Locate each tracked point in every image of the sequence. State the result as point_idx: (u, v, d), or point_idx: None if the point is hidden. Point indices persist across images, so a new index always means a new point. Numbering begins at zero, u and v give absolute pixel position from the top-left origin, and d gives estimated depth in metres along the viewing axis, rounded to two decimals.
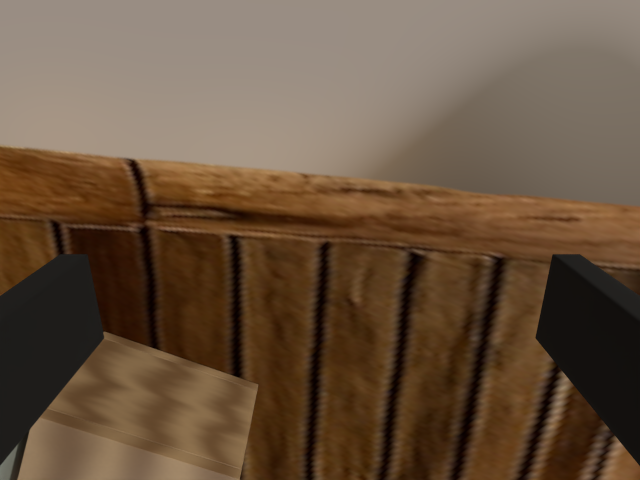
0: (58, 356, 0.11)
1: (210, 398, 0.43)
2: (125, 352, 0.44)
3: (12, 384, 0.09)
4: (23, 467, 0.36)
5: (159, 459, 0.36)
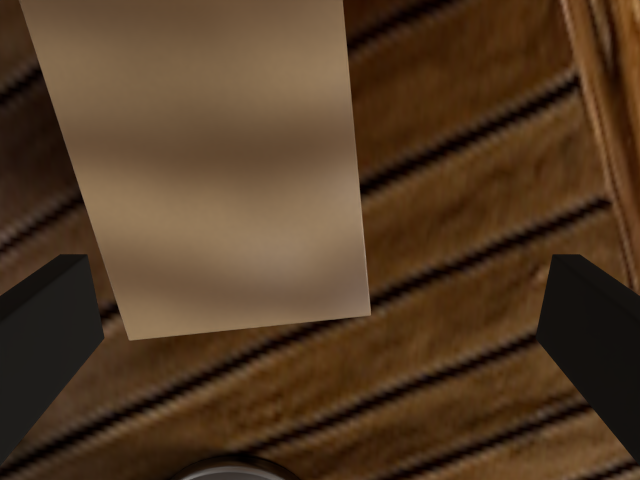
0: (58, 356, 0.11)
1: None
2: None
3: (11, 384, 0.09)
4: None
5: (346, 173, 0.18)
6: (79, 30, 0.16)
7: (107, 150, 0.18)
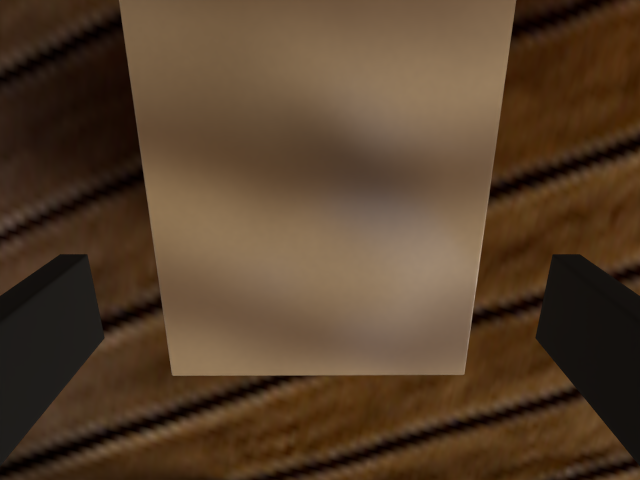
0: (58, 356, 0.11)
1: None
2: None
3: (11, 385, 0.09)
4: None
5: (473, 209, 0.15)
6: None
7: (189, 148, 0.14)
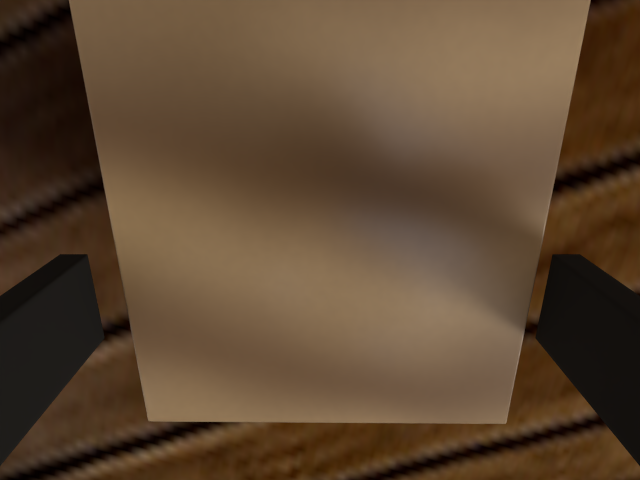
0: (58, 356, 0.11)
1: None
2: None
3: (11, 384, 0.09)
4: None
5: (528, 224, 0.12)
6: None
7: (160, 145, 0.11)
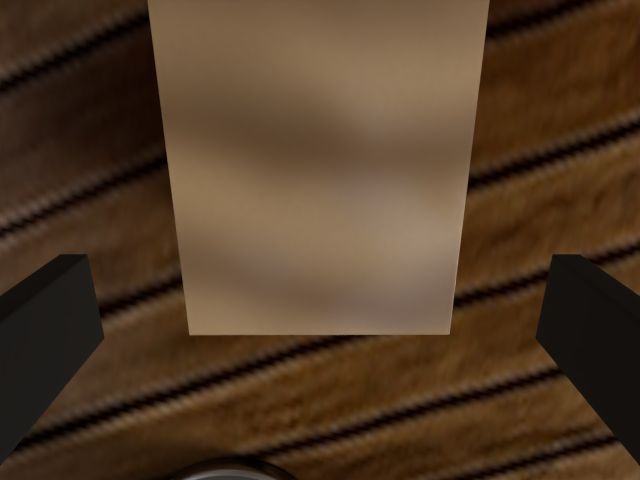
0: (58, 356, 0.11)
1: None
2: None
3: (12, 384, 0.09)
4: None
5: (455, 184, 0.17)
6: None
7: (206, 130, 0.16)
